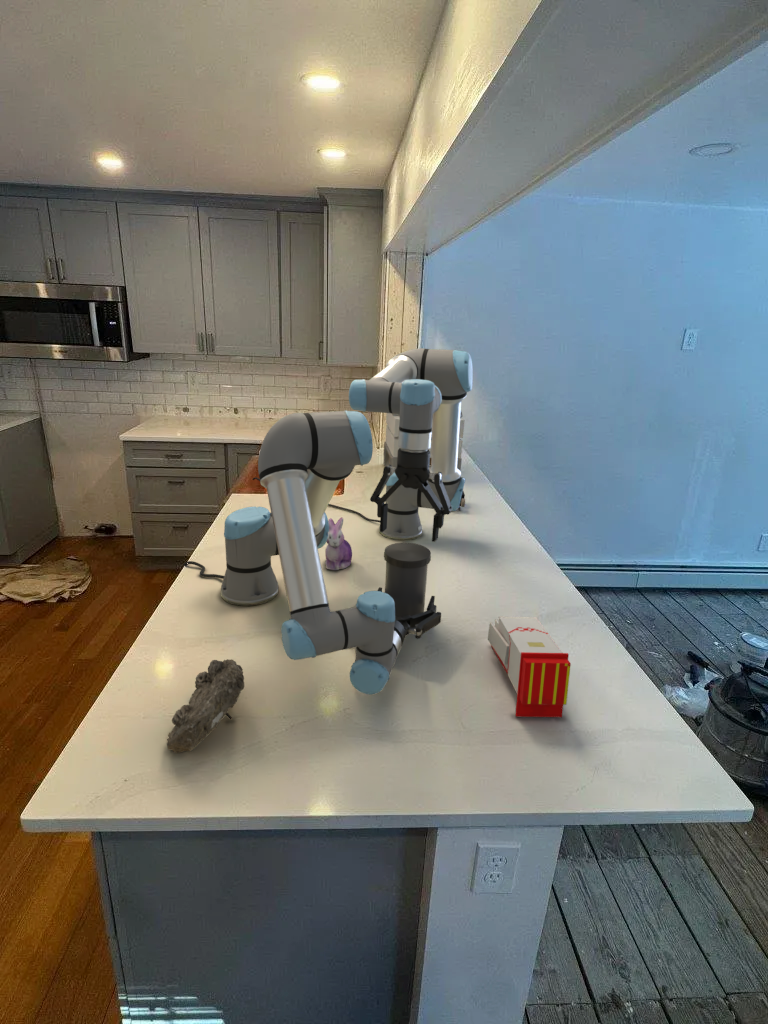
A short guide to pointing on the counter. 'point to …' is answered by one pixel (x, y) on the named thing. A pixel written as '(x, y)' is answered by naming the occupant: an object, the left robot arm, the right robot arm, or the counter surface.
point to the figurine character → (462, 501)
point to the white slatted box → (392, 440)
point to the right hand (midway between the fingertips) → (408, 534)
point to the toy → (531, 665)
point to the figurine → (337, 547)
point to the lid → (407, 555)
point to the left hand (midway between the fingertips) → (406, 596)
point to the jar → (406, 589)
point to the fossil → (206, 705)
